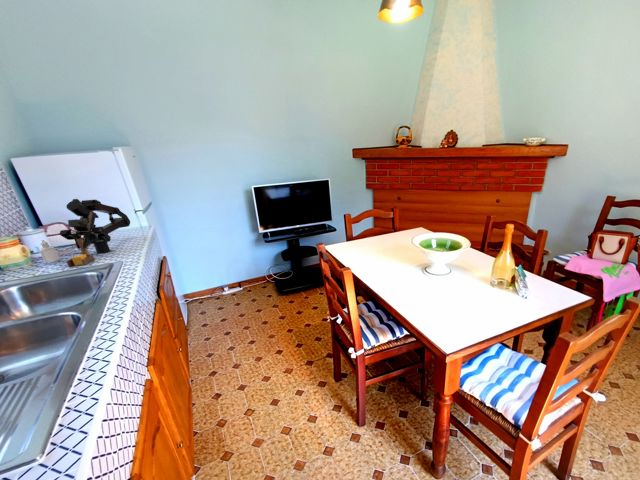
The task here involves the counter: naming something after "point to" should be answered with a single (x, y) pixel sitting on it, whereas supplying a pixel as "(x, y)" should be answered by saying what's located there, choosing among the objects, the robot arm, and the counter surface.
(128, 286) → the counter surface
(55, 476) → the counter surface
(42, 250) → the eye dropper bottle
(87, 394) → the counter surface
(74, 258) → the block
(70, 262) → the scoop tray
